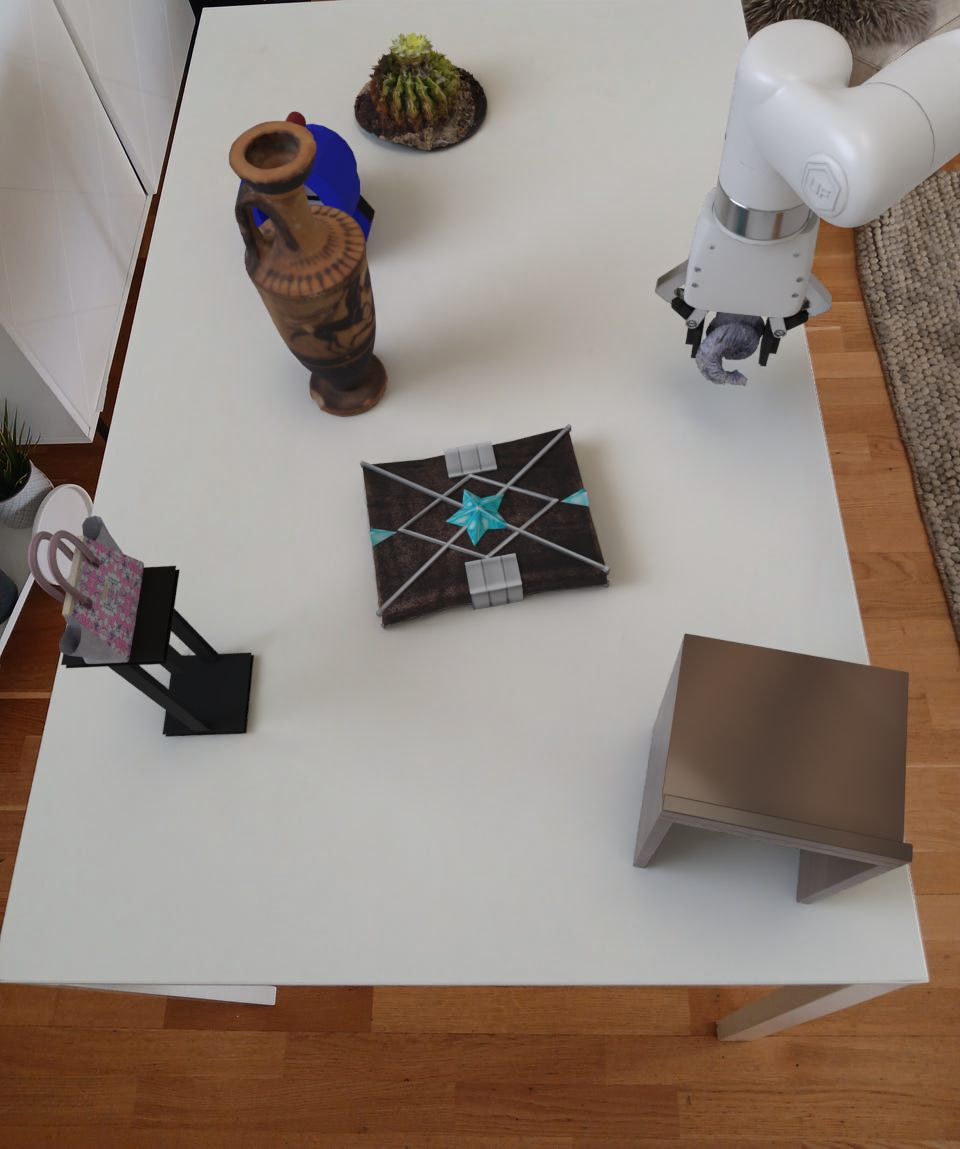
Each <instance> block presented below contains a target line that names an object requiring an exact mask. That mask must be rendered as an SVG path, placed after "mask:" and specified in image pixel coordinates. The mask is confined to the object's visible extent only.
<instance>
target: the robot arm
mask: <svg viewBox="0 0 960 1149" xmlns="http://www.w3.org/2000/svg"><path fill="white" fill-rule="evenodd" d="M737 60H738V61H737V66H736V69H735V74H734V80H733V86H732V92H731V98H730V104H729V110H728V114H727V122H726V127H725V133H724V138H723V139H724V140H723V144H722V150H721V157H720V163H719V169H718V175H717V182H716V186H715V187H714V188H712V189H710V190H709V192H707V194H706V195H705V198H704V200H703V202H702V205H701V208H700V210H699V213H698V216H697V219H696V221H695V222H696V223H695V226H694V230H693V234H692V239H691V244H690V248H689V253H688V258H687V259H686V260H684V261H682V262H681V263H680V264H677V266H675V267H673V268H671V269H670V270H669V271H668V272H665V273H663V274H662V275H661V276H659V277H658V278H656V283H655V287H654V292H655V294H656V295H657V296H658V297H660V298H661V299H662V300H663V301H664V302H666V303H669V304H670V308H671V309H672V310H673V311H674V312H675V313H677V315H679V316H680V317H681V318H682V319H683V320H684V321H685V323H684V325H685V326H686V327H687V331H686V338H685V343H684V344H685V345H691V346H692V348H691V352H690V359H695V358H696V355H697V353H698V352H697V351H698V348H699V346H700V344H701V343H702V341H703V340H702V339H703V334H704V329H705V328H704V327H705V322H706V317H707V315H708V314H709V312H724V313H733V314H743V315H753V316H761V317H763V318H765V317H766V321H765V329H764V334H763V335H762V337H761V338H760V344H759V345H760V346H759V353H758V354H759V355H758V363H757V364H758V365H760V367H767V364H768V360H769V357H770V354H772V355H776V354H777V353H778V350H779V345H780V342H781V339H782V338H785V337H786V336H787V333H788V331H791V330H792V329H795V328H797V327H799V326H801V325H804V324H806V323H807V322H808V321H809V319H810V318H816V317H818V316H820V315H823V314H825V313H828V312H829V311H831V309H832V305H833V295H832V294H831V292H829V290H828V289H827V288H826V287H825V286H824V284H822V282H821V280H819V279H818V278H817V277H816V275H815V274H814V273H813V272H812V269H813V264H814V260H815V255H816V251H817V250H816V249H817V243H818V236H819V231H820V230H819V229H820V225H821V224H820V223H821V219H822V220H823V221H825V222H826V223H828V224H830V225H832V226H835V227H839V228H845V229H853V228H857V227H861V226H864V225H866V224H869V223H871V222H872V221H874V220H875V219H877V218H878V217H881V216H882V215H883V214H884V213H886V212H887V211H888V210H889V209H891V208H892V207H894V205H895V204H897V203H898V202H899V201H900V200H902V199H903V198H905V197H906V196H907V195H908V194H909V193H911V192H912V191H913V190H914V189H916V188H917V187H918V186H919V185H920V184H922V183H923V182H924V181H926V180H927V179H928V178H929V177H930V176H932V175H933V174H935V173H936V172H937V171H938V170H939V169H941V168H943V166H945V165H946V164H947V163H948V162H949V161H952V159H953V158H955V157H956V156H957V155H959V154H960V27H959V28H955V29H952V30H949V31H946V32H943V33H941V34H938V35H936V36H933V37H931V38H929V39H926V40H925V41H923V42H920V43H919V44H917V45H914V46H913V47H912V48H910V49H909V50H907V51H906V52H904V53H903V54H902V55H900V56H899V57H897V58H896V59H895V60H893V61H892V62H890V63H888V64H887V65H885V66H884V67H883V68H881V69H880V70H879V71H877V72H876V73H875V74H873V75H872V76H871V77H869V78H868V79H867V80H865V81H864V82H862V83H861V84H860V85H856V86H852V87H849V85H850V82H851V76H852V71H853V65H854V64H853V54H852V50H851V47H850V45H849V43H848V42H847V40H846V39H845V37H844V36H843V35H842V34H841V33H840V32H839V31H837V30H836V29H834V28H833V27H832V26H829V25H828V24H826V23H823V22H819V21H816V20H811V19H803V18H802V19H801V18H800V19H799V18H798V19H797V18H795V19H786V20H780V21H776V22H774V23H771V24H769V25H766V26H764V27H763V28H761V29H759V30H758V31H756V32H755V33H754V35H752V37H751V38H750V39H748V40H747V42H746V44H745V45H744V47H743V48H742V50H741V52H740V54H739V57H738V59H737ZM682 286H684V287H682ZM805 298H806V299H805Z"/></svg>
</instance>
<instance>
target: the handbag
mask: <svg viewBox="0 0 960 1149" xmlns="http://www.w3.org/2000/svg"><path fill="white" fill-rule="evenodd" d="M81 528H82V535H77V536H76V535H74V534H73V533H71V532H69V531H67V530H65V529H60V530H57V531H56V532H55V533H53V534H52V533H51V532H49V531H44V530H40V531H39V532H37V533H36V534H34V535H33V537H32V538H31V540H30V542H29V545H28V551H27V562H28V567H29V571H30V573H31V576H32V577H33V578H34V581H35V582H36V583H37V584H38V585H39V586H40V588H42V590H43V591H45V592H46V593H47V594H48V595H50V596H51V597H53V598H54V599H56V600H57V601H59V602H60V603H63V606H62V612H61V615H62V617H63V618H64V620H65V622H66V624H67V625H66V627H65V629H64V632H63V634H62V636H61V637H60V640H59V643H58V647H59V652H60V653H61V654H62V658H61V662H60V665H61V666H65V669H81V668H104V667H105V668H106V667H107V668H109V669H110V670H112V671H113V672H114V673H116V674H117V675H118V676H120V677H121V678H122V679H123V680H125V681H126V682H128V683H129V684H130V685H132V686H133V687H134V688H135V689H137V690H138V691H140V692H141V693H142V694H143V695H145V696H146V697H147V698H149V699H150V700H151V701H153V702H154V703H156V704H157V705H158V706H160V707H161V708H162V709H163V710H165V713H164V721H163V728H162V735H163V736H164V735H165V736H164V737H169V738H170V737H190V736H192V737H193V736H216V735H217V736H218V735H243V734H247V732H248V731H247V730H248V720H249V709H250V698H251V689H252V688H251V687H252V677H253V667H254V658H255V655H254V654H252V652H230V653H229V652H228V653H218V652H217V651H216V649H214V647H213V646H212V645H211V644H210V643H209V642H208V641H206V639H205V638H204V637H203V636H202V635H201V634H200V633H199V632H198V631H197V630H196V629H195V627H193V626H192V625H191V624H190V622H188V621H187V619H186V618H185V617H184V616H183V615H182V614H181V613H180V612H179V611H178V610H177V609H176V608H175V607H176V606H175V604H176V598H177V592H178V591H177V590H178V585H179V584H178V583H179V576H180V569H177V565H163V566H162V565H160V566H145V562H143V561H141V560H139V559H137V558H135V557H132V556H130V555H127V554H125V553H124V552H123V551H122V549H121V548H120V547H119V545H118V543H117V541H115V539H114V538H113V536H112V535H111V533H110V532H109V530H108V528H107V526H106V524H105V522H104V521H103V519H102V517H101V516H98V515H92V516H88V517H86V518H85V519H84V521H83V523H82V524H81ZM62 539H65V540H67V541H68V542H70V543H71V544H72V545H73V546H74V551H72V549H71V548H70V547H69V546H68V545H67V544H66V543H65V542H64V541H63V540H62ZM43 540H45V541H46V540H47V541H48V545H47V552H46V560H47V566H48V569H49V572H50V574H51V576H52V578H53V579H54V581H55V582H56V583H57V585H59V587H60V588H61V589H62V590H64V591H65V594H63V593H62V592H60V591H59V590H58V589H56V588H55V587H54V586H53V585H52V584H51V583H50V582H49V581H48V580H47V579H46V578H45V576H44V575H43V573H42V572H41V569H40V566H39V561H38V551H39V547H40V544H41V543H42V541H43ZM58 550H59V551H60V552H61V553H62V554H63V555H64V556H65V557H66V558H67V559H68V560H69V562H71V566H70V571H69V576H68V581H67V580H66V578H65V576H63V574H62V572H61V570H60V567H59V565H58V558H57V551H58ZM171 634H173V635H175V637H177V639H179V640H180V642H182V643H183V644H184V645H185V646H186V647H187V648H188V649H189V650H190V651H191V652H192V653H193V654H188V655H187V654H186V655H182V654H181V653H180V652H179V651H178V650H177V649H176V648H174V647H173V646H172V644H170V642H171ZM149 665H151V666H153V665H160V666H161V667H162V668H163V669H165V670H166V671H167V672H168V673H169V674H170V677H169V684H168V687H167V686H166V685H165V684H163V683H162V682H161V681H160V680H158V679H157V678H155V677H154V676H153V675H152V674H150V673H149V672H148V671H147V670H146V669H145V668H143V667H142V666H149Z"/></svg>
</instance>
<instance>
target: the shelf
mask: <svg viewBox="0 0 960 1149" xmlns="http://www.w3.org/2000/svg"><path fill="white" fill-rule="evenodd" d="M909 683H910V672H909V671H903V670H898V669H891V668H885V667H880V666H874V665H869V664H864V663H863V664H862V663H857V662H853V661H845V660H841V659H835V658H828V657H823V656H816V655H811V654H806V653H800V652H794V651H788V650H783V649H778V648H773V647H766V646H760V645H754V644H749V643H744V642H743V643H742V642H738V641H733V640H725V639H720V638H716V637H715V638H714V637H708V636H703V635H697V634H691V633H684V635H683V638H682V641H681V644H680V646H679V649H678V652H677V656H676V658H675V662H674V664H673V668H672V670H671V672H670V676H669V679H668V683H667V685H666V688H665V691H664V694H663V697H662V700H661V703H660V706H659V709H658V712H657V715H656V718H655V721H654V723H653V726H652V733H651V740H650V747H649V753H648V760H647V768H646V772H645V773H646V775H645V780H644V788H643V795H642V800H641V808H640V813H639V814H640V815H639V821H638V828H637V833H636V841H635V848H634V849H635V850H634V855H633V860H632V866H633V867H635V868H639V869H646V867H647V865H648V864H649V862H650V861H651V859H652V858H653V856H654V854H655V853H656V851H657V849H658V847H659V846H660V844H661V842H662V841H663V840H664V837H665V836H666V835H667V833H668V831H669V829H670V828H671V826H672V825H673V823H674V824H675V823H676V824H680V825H685V826H690V827H694V828H699V829H703V830H709V831H714V832H718V833H723V834H729V835H733V836H738V837H742V838H747V839H752V840H758V841H761V842H765V843H766V842H767V843H771V844H776V845H781V846H785V847H789V848H795V849H799V859H798V874H797V885H796V898H795V899H796V900H795V901H796V903H798V904H799V903H800V904H804V905H810V904H813V903H816V902H818V901H820V900H823V899H825V898H827V897H831V896H833V895H834V894H837V893H839V892H842V891H844V890H847V889H850V888H852V887H854V886H857V885H859V884H862V883H864V882H866V881H869V880H871V879H874V878H876V877H879V876H881V875H883V874H885V873H888V872H891V871H894V870H897V869H898V868H901V867H903V866H905V865H908V864H911V863H912V862H913V855H914V854H913V853H914V845H913V844H912V843H908V842H904V840H905V814H906V813H905V810H906V778H907V749H908V745H907V744H908V717H909V716H908V714H909Z"/></svg>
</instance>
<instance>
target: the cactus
mask: <svg viewBox="0 0 960 1149" xmlns="http://www.w3.org/2000/svg"><path fill="white" fill-rule="evenodd" d="M397 37H398V38H396V39H394V40H393V39H390V41H391V45H390V46H389V47H388V50H389V53H387V54H384V53H382V54H381V56H380V57H381V58H380V57H378V60H377V61H376V62H377V64H375V65H371V68H370V70H373V73H369V74H367V76H368V77H369V78H370V80H368V81H367V82H366V83H365V84H364V86H363V87H362V88H361V89H360V91H359V92H358V94H357V95H356V97H355V100H354V105H353V108H354V117H355V120H356V122H357V123H358V125H359V126H360V127H361V128H362V129H363V130H365V132H367V133H369V134H373V135H374V136H376V138H378V139H381V140H385V141H390V142H392V143H396V144H397V145H398V144H401V145H403V146H404V145H408V146H409V147H410V148H413V147H415V146H416V147H417V149H421V150H424V151H431V150H433V149H436V148H440V147H441V148H442V147H448V146H449V145H451V144H455V143H459V142H460V141H461V140H462V139H464V138H469V137H471V136H472V135H473V134H474V133H475V132H476V130H477V128H478V127H479V126H480V125H481V124H482V123H483V121H484V119H485V117H486V114H487V110H488V99H487V96H486V93H485V90H484V88H483V86H482V85H481V84H480V82H479V80H477V79H476V78H475V76H474V73H470V71H467V70H466V69H465V68H461V67H458V65H455V64H453V63H452V60H449V58H446V56H447V54H444V53H441V52H438V50H437V48H435V49H436V50H433V47H434V45H433V44H431V43H432V40H428V38H427V35H426V34H424V35H423V34H422V33H420V34H419V35H417V34H416V33H415V32H411V33H410V34H408V33H405V34H403V33H402V32H401V33H399V35H397Z"/></svg>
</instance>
